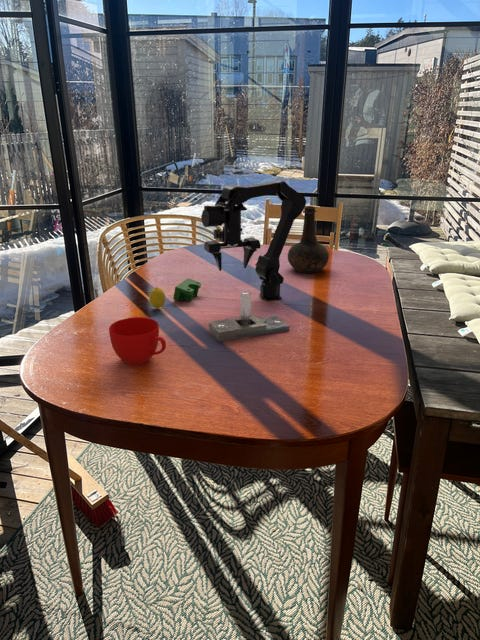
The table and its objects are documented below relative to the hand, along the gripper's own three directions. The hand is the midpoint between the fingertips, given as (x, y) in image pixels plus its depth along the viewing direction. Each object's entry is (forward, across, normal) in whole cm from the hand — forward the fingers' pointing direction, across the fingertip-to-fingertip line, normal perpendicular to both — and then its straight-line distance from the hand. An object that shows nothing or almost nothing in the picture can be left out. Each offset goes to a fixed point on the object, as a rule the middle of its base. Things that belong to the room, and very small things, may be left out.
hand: (232, 269), depth 165 cm
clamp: (+13, +13, -13) cm, 23 cm away
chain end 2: (+13, +1, +24) cm, 27 cm away
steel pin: (+13, +5, +24) cm, 28 cm away
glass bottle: (+13, -47, -29) cm, 57 cm away
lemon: (+13, +26, -5) cm, 30 cm away
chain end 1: (+13, +8, +24) cm, 28 cm away
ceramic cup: (+13, +39, +33) cm, 53 cm away
